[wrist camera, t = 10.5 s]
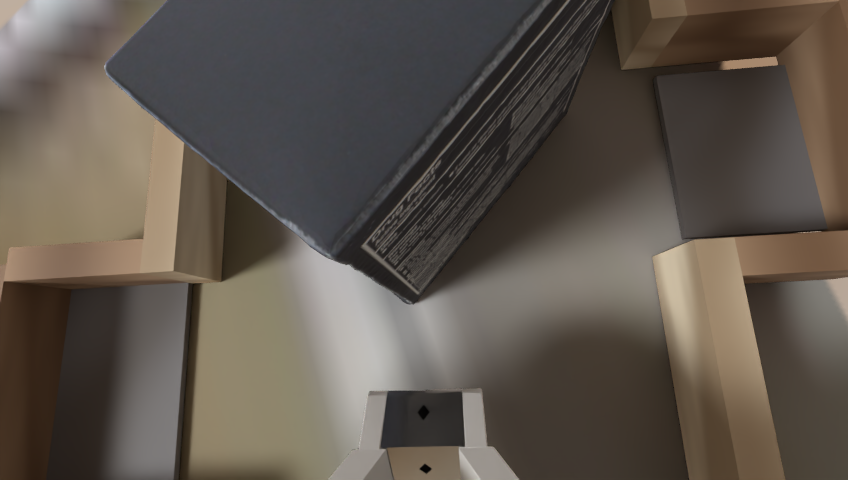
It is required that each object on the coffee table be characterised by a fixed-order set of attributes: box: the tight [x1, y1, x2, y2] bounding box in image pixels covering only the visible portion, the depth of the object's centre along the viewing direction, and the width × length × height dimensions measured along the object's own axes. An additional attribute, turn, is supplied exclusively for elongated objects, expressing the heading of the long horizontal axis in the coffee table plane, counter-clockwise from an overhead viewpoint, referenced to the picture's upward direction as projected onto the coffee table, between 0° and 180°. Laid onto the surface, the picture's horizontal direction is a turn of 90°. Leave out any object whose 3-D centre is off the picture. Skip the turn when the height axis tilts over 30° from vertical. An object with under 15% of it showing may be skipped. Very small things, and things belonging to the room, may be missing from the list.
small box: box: [104, 0, 615, 304], centre depth 13 cm, size 11×6×10 cm, turn 142°
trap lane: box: [0, 0, 848, 480], centre depth 15 cm, size 32×25×3 cm
